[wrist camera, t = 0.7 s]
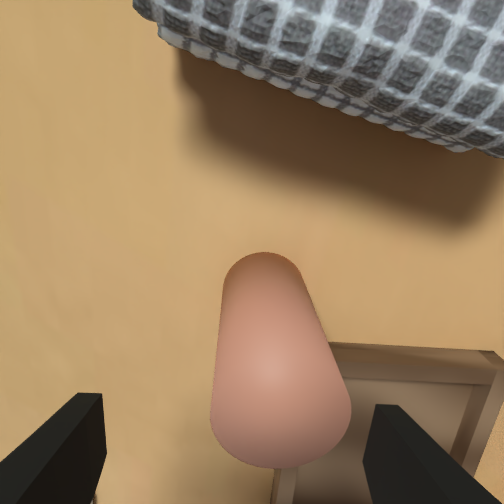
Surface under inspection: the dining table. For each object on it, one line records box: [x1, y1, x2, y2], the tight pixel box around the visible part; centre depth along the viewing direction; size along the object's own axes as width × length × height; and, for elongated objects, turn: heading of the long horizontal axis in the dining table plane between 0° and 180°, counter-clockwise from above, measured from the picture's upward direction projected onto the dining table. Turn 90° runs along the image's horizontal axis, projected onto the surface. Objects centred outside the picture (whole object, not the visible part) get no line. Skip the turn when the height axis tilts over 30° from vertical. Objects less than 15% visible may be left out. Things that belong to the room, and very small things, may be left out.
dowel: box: [210, 252, 351, 469], centre depth 16 cm, size 4×4×9 cm
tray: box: [270, 342, 504, 504], centre depth 23 cm, size 14×12×2 cm
